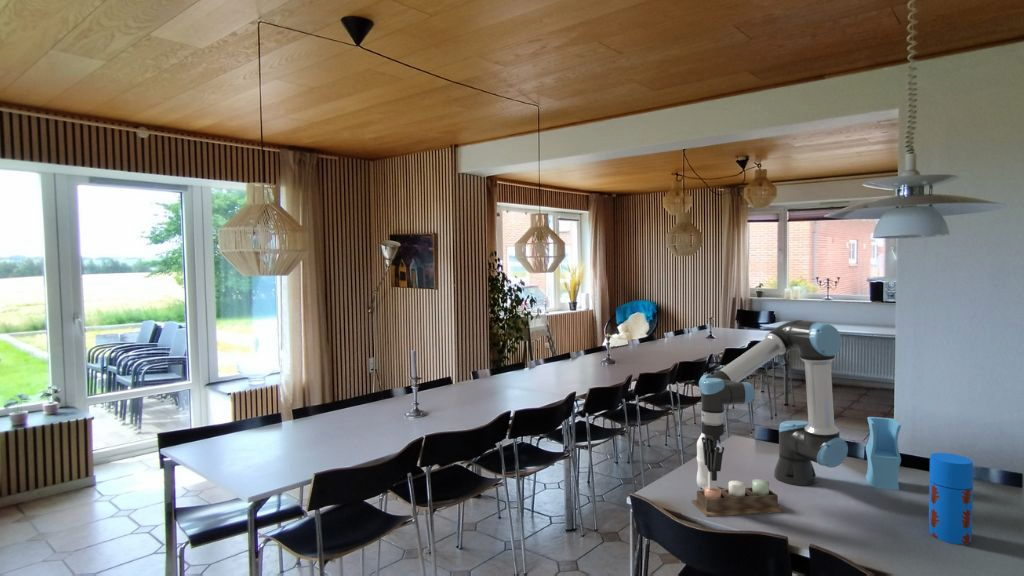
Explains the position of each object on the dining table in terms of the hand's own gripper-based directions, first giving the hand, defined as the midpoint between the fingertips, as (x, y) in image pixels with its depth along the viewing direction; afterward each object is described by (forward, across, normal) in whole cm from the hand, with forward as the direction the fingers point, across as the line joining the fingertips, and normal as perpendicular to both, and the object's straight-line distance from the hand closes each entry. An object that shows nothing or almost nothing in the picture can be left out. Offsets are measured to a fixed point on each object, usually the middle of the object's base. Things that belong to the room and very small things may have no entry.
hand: (712, 488), depth 204 cm
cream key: (+4, 0, +9) cm, 10 cm away
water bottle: (+8, -18, +6) cm, 20 cm away
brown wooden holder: (+7, 0, +9) cm, 12 cm away
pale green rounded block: (+4, 0, +18) cm, 18 cm away
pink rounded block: (+5, 0, 0) cm, 5 cm away
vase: (+7, -12, +75) cm, 76 cm away
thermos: (+7, +30, +64) cm, 71 cm away
